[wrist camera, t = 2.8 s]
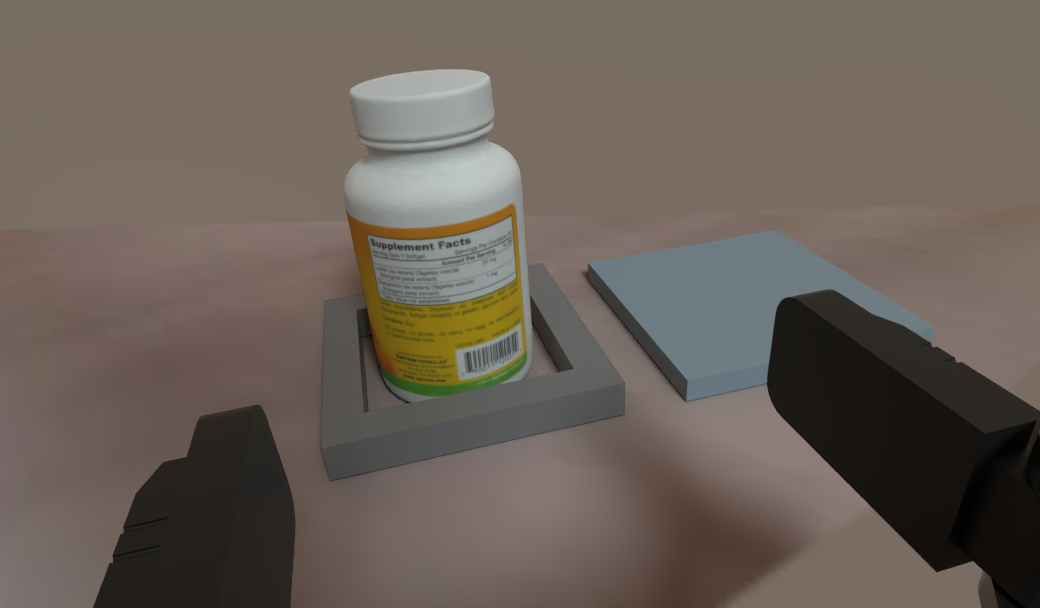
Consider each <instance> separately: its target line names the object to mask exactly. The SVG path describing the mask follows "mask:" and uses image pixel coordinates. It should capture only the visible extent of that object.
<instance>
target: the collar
mask: <svg viewBox="0 0 1040 608" xmlns="http://www.w3.org/2000/svg"><path fill="white" fill-rule="evenodd" d="M528 278H529V291H530V305H531V320H532V322H533V324H534V326H535V328H536V330H537V331H538V333H539V335H540V337H541V339H542V341H543V342H544V344H545V346H546V348H547V350H548V351H549V353H550V355H551V357H552V359H553V360H554V362H555V364H556V366H557V368H558V370H559V371H560V372H557V373H552V374H548V375H543V376H538V377H533V378H528V379H524V380H519V381H514V382H509V383H504V384H499V385H495V386H490V387H485V388H480V389H475V390H471V391H466V392H461V393H456V394H451V395H447V396H442V397H437V398H432V399H427V400H423V401H418V402H413V403H408V404H403V405H399V406H394V407H389V408H384V409H379V410H375V411H370V412H368V400H367V388H366V375H365V363H364V350H363V338H362V336H367V335H372V330H371V325H370V320H369V315H368V311H367V306H366V301H365V296H364V294H362V295H356V296H350V297H344V298H339V299H333V300H327V301H324V344H323V388H322V432H321V450H322V453H323V457H324V460H325V464H326V467H327V471H328V474H329V478H330V481H331V480H336V479H340V478H345V477H349V476H353V475H358V474H362V473H367V472H371V471H376V470H380V469H384V468H389V467H393V466H398V465H402V464H407V463H411V462H415V461H420V460H424V459H429V458H433V457H438V456H442V455H447V454H451V453H455V452H460V451H464V450H469V449H473V448H478V447H482V446H486V445H491V444H495V443H500V442H504V441H509V440H513V439H517V438H522V437H526V436H531V435H535V434H540V433H544V432H548V431H553V430H557V429H562V428H566V427H571V426H575V425H579V424H584V423H588V422H593V421H597V420H602V419H606V418H611V417H615V416H619V415H624V414H625V382H624V381H623V379H622V378H621V376H620V375H619V373H618V372H617V370H616V369H615V368H614V366H613V365H612V363H611V362H610V360H609V359H608V357H607V356H606V355H605V353H604V352H603V350H602V349H601V347H600V346H599V344H598V343H597V342H596V340H595V339H594V337H593V336H592V334H591V333H590V331H589V330H588V329H587V327H586V326H585V324H584V323H583V321H582V320H581V318H580V317H579V316H578V314H577V313H576V311H575V310H574V308H573V307H572V305H571V304H570V303H569V301H568V300H567V298H566V297H565V295H564V294H563V292H562V291H561V290H560V288H559V287H558V285H557V284H556V282H555V281H554V279H553V278H552V277H551V275H550V274H549V272H548V271H547V269H546V268H545V266H544V265H543V264H542V263H540V264H534V265H528Z"/></svg>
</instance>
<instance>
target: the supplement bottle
mask: <svg viewBox="0 0 1040 608" xmlns="http://www.w3.org/2000/svg"><path fill="white" fill-rule="evenodd" d="M350 102H351V107H352V114H353V118H354V124H355V128H356V131H357V133H358V134H357V139H358V141H359V142H360V143H361V144H363V145H365V146H367V150H368V155H367V156H366V157H364V158H362V159H361V160H360V161H358V162H357V163H356V164H355V165H354V166H353V167H352V169H351V170H350V171H349V173H348V174H347V176H346V179H345V182H344V192H343V193H344V200H345V205H346V212H347V216H348V221H349V226H350V231H351V235H352V240H353V245H354V249H355V254H356V259H357V263H358V268H359V273H360V278H361V282H362V287H363V292H364V296H365V301H366V306H367V311H368V315H369V320H370V325H371V330H372V335H373V339H374V344H375V348H376V353H377V357H378V362H379V365H380V369H381V373H382V377H383V379H384V381H385V383H386V385H387V386H388V388H389V389H390V390H391V391H392V392H393V393H394V394H396V395H397V396H398V397H400V398H401V399H403V400H405V401H407V402H410V403H413V402H418V401H423V400H427V399H432V398H437V397H442V396H447V395H451V394H456V393H461V392H466V391H471V390H475V389H480V388H485V387H490V386H495V385H499V384H504V383H509V382H514V381H519V380H522V379H523V378H524V377H525V376H526V374H527V372H528V371H529V369H530V366H531V364H532V359H533V333H532V320H531V305H530V291H529V278H528V264H527V250H526V235H525V219H524V206H523V191H522V183H521V175H520V170H519V167H518V164H517V162H516V161H515V159H514V158H513V156H512V155H511V154H510V153H509V152H508V151H506V150H505V149H504V148H502V147H500V146H499V145H496V144H494V143H491V142H488V140H487V132H489V131H490V130H491V129H492V128H493V125H494V122H493V118H494V115H495V114H494V107H493V100H492V91H491V81H490V78H489V76H488V75H487V74H485V73H482V72H479V71H473V70H455V69H452V70H451V69H449V70H429V71H417V72H409V73H401V74H395V75H390V76H385V77H380V78H377V79H373V80H369V81H366V82H363V83H361V84H358V85H356V86H355V87H353V88H352V89H351V91H350Z"/></svg>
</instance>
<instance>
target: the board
mask: <svg viewBox="0 0 1040 608" xmlns="http://www.w3.org/2000/svg"><path fill="white" fill-rule="evenodd" d="M588 275H589V281H590V282H591V283H592V285H593V286H594V287H595V288H596V290H597V291H598V292H599V293H600V295H601V296H602V297H603V298H604V300H605V301H606V302H607V303H608V305H609V306H610V307H611V308H612V310H613V311H614V312H615V313H616V314H617V316H618V317H619V318H620V319H621V321H622V322H623V323H624V324H625V326H626V327H627V328H628V329H629V331H630V332H631V333H632V334H633V336H634V337H635V338H636V339H637V341H638V342H639V343H640V344H641V346H642V347H643V348H644V349H645V351H646V352H647V353H648V354H649V356H650V357H651V358H652V359H653V361H654V362H655V363H656V364H657V366H658V367H659V368H660V369H661V371H662V372H663V373H664V374H665V376H666V377H667V378H668V379H669V381H670V382H671V383H672V384H673V386H674V387H675V388H676V389H677V391H678V392H679V393H680V394H681V396H682V397H683V398H684V399H685V401H691V400H695V399H700V398H704V397H708V396H713V395H717V394H722V393H726V392H731V391H735V390H739V389H744V388H748V387H753V386H757V385H762V384H766V383H767V374H768V366H769V359H770V351H771V344H772V336H773V329H774V321H775V314H776V309H777V306H778V304H779V303H780V302H781V301H782V300H783V299H784V298H787V297H792V296H797V295H801V294H806V293H811V292H816V291H821V290H826V289H832V290H835V291H837V292H839V293H840V294H842V295H844V296H845V297H847V298H848V299H850V300H851V301H853V302H854V303H856V304H858V305H859V306H861V307H862V308H864V309H865V310H867V311H868V312H870V313H872V314H874V315H876V316H879V317H882V318H885V319H887V320H890V321H893V322H896V323H898V324H901V325H903V326H905V327H907V328H908V329H910V330H911V331H913V332H914V333H916V334H918V335H919V336H921V337H922V338H924V339H926V340H927V341H929V342H930V341H931V338H932V334H933V331H934V326H933V325H931V324H929V323H928V322H926V321H925V320H923V319H921V318H920V317H918V316H916V315H915V314H913V313H911V312H910V311H908V310H906V309H905V308H903V307H902V306H900V305H898V304H897V303H895V302H893V301H892V300H890V299H888V298H887V297H885V296H883V295H882V294H880V293H879V292H877V291H875V290H874V289H872V288H870V287H869V286H867V285H865V284H864V283H862V282H861V281H859V280H857V279H856V278H854V277H852V276H851V275H849V274H847V273H846V272H844V271H842V270H841V269H839V268H838V267H836V266H834V265H833V264H831V263H829V262H828V261H826V260H824V259H823V258H821V257H819V256H818V255H816V254H815V253H813V252H811V251H810V250H808V249H806V248H805V247H803V246H801V245H800V244H798V243H796V242H795V241H793V240H792V239H790V238H788V237H787V236H785V235H783V234H782V233H780V232H778V231H777V230H773V231H767V232H761V233H756V234H750V235H744V236H739V237H733V238H727V239H722V240H716V241H710V242H705V243H699V244H693V245H688V246H682V247H676V248H671V249H665V250H659V251H654V252H648V253H642V254H637V255H631V256H625V257H620V258H614V259H608V260H603V261H597V262H591V263H588Z"/></svg>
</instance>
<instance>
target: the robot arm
mask: <svg viewBox="0 0 1040 608" xmlns="http://www.w3.org/2000/svg"><path fill="white" fill-rule="evenodd" d="M767 387H768V392H769V396H770V399H771V401H772V403H773V406H774V407H775V409H776V411H777V412H778V413H779V414H780V416H781V417H782V418H783V419H784V420H785V421H786V422H787V423H788V424H789V425H790V426H791V427H792V428H793V429H794V430H795V431H796V432H797V433H798V434H799V435H800V436H801V437H802V438H803V439H804V440H805V441H806V442H807V443H808V444H809V445H810V446H811V447H812V448H813V449H814V450H815V451H816V452H817V453H818V454H819V455H820V456H821V457H822V458H823V459H824V460H825V461H826V462H827V463H828V464H829V465H830V466H831V467H832V468H833V469H834V470H835V471H836V472H837V473H838V474H839V475H840V476H841V477H842V478H843V479H844V480H845V481H846V482H847V483H848V484H849V485H850V486H851V487H852V488H853V489H854V490H855V491H856V492H857V493H858V494H859V495H860V496H861V497H862V498H863V499H864V500H865V501H866V502H867V503H868V504H869V505H870V506H871V507H872V508H873V509H874V510H875V511H876V512H877V513H878V514H879V515H880V516H881V517H882V518H883V519H884V520H885V521H886V522H887V523H888V524H889V525H890V526H891V527H892V528H893V529H894V530H895V531H896V532H897V533H898V534H899V535H900V536H901V537H902V538H903V539H904V540H905V541H906V542H907V543H908V544H909V545H910V546H911V547H912V548H913V549H914V550H915V551H916V552H917V553H918V554H919V555H920V556H921V557H922V558H923V559H924V560H925V561H926V562H927V563H928V564H929V565H930V566H931V567H932V568H933V569H934V570H935V571H936V572H939V571H942V570H945V569H949V568H952V567H955V566H958V565H962V564H965V563H968V562H972V561H974V562H975V563H976V564H977V565H978V566H979V567H980V568H981V569H982V570H983V572H982V575H981V577H980V580H979V583H978V594H979V599H980V603H981V608H1040V411H1039V410H1037V409H1035V408H1034V407H1032V406H1031V405H1029V404H1028V403H1026V402H1024V401H1023V400H1021V399H1020V398H1018V397H1016V396H1015V395H1013V394H1012V393H1010V392H1008V391H1007V390H1005V389H1004V388H1002V387H1001V386H999V385H997V384H996V383H994V382H993V381H991V380H989V379H988V378H986V377H985V376H983V375H981V374H980V373H978V372H977V371H975V370H973V369H972V368H970V367H969V366H967V365H965V364H964V363H962V362H959V363H957V362H956V361H955V358H954V357H953V356H951V355H950V354H948V353H946V352H945V351H943V350H942V349H940V348H938V347H934V348H933V347H932V345H931V343H930V342H929V341H927V340H926V339H924V338H922V337H921V336H919V335H918V334H916V333H914V332H913V331H911V330H910V329H908V328H907V327H905V326H903V325H901V324H898V323H896V322H893V321H890V320H887V319H885V318H882V317H879V316H876V315H874V314H872V313H870V312H868V311H867V310H865V309H864V308H862V307H861V306H859V305H858V304H856V303H854V302H853V301H851V300H850V299H848V298H847V297H845V296H844V295H842V294H840V293H839V292H837V291H835V290H832V289H826V290H821V291H816V292H811V293H806V294H801V295H797V296H792V297H787V298H784V299H783V300H782V301H781V302H780V303H779V304H778V306H777V309H776V314H775V321H774V329H773V336H772V344H771V351H770V359H769V366H768V374H767ZM123 528H124V533H123V534H121V535H120V537H119V540H118V542H117V545H116V548H115V550H114V553H113V563H110V564H109V566H108V569H107V572H106V574H105V577H104V580H103V582H102V585H101V588H100V590H99V593H98V596H97V598H96V601H95V604H94V606H93V608H290V600H291V586H292V571H293V557H294V542H295V513H294V505H293V499H292V494H291V490H290V487H289V483H288V480H287V477H286V474H285V471H284V468H283V465H282V462H281V459H280V456H279V454H278V451H277V448H276V445H275V442H274V439H273V436H272V433H271V430H270V427H269V424H268V421H267V418H266V415H265V413H264V411H263V409H262V408H261V406H260V405H253V406H248V407H243V408H238V409H234V410H229V411H224V412H219V413H214V414H209V415H204V416H201V417H200V418H199V420H198V422H197V425H196V428H195V431H194V435H193V438H192V441H191V445H190V448H189V451H188V455H187V457H185V458H180V459H176V460H171V461H166V462H163V463H162V464H161V465H160V467H159V468H158V469H157V470H156V471H155V472H154V473H153V475H152V476H151V477H150V478H149V479H148V480H147V482H146V483H145V484H144V485H143V486H142V487H141V488H140V490H139V491H138V492H137V493H136V495H135V497H134V500H133V503H132V505H131V508H130V511H129V513H128V516H127V519H126V521H125V524H124V527H123Z"/></svg>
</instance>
